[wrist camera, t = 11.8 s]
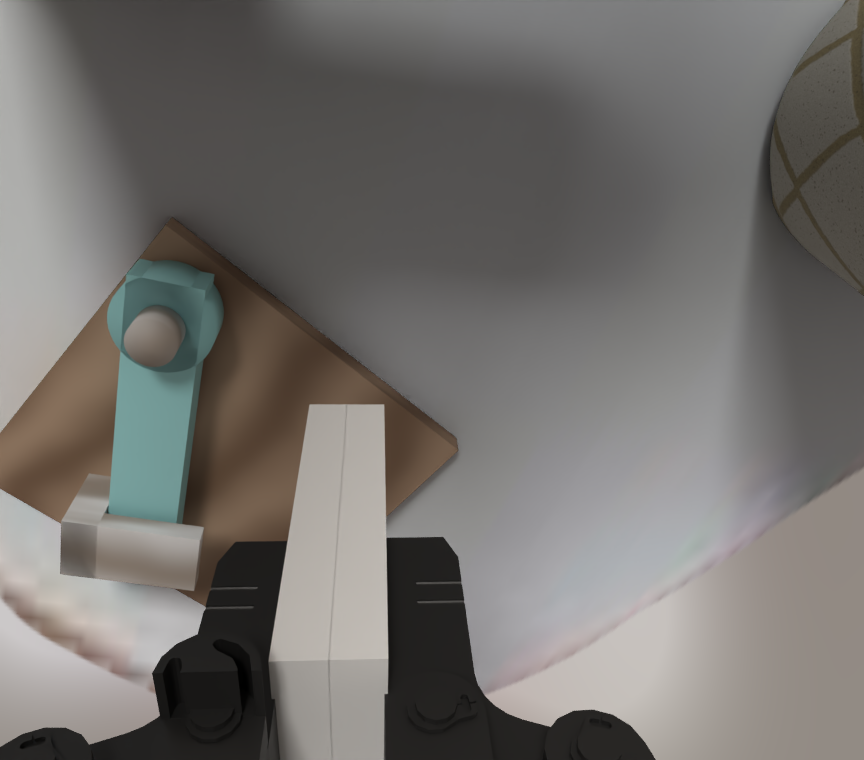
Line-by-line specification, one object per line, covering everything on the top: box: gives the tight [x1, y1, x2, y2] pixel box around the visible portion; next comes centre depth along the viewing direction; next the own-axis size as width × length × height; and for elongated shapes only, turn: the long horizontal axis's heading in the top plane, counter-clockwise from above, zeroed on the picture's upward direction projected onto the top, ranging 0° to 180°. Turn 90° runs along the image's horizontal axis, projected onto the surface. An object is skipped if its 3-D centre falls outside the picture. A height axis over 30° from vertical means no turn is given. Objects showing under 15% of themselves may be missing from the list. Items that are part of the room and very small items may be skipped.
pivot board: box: [0, 217, 458, 606], centre depth 47 cm, size 22×21×7 cm
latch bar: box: [107, 259, 224, 524], centre depth 45 cm, size 20×6×2 cm, turn 166°
